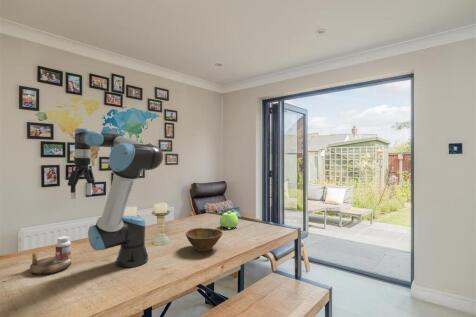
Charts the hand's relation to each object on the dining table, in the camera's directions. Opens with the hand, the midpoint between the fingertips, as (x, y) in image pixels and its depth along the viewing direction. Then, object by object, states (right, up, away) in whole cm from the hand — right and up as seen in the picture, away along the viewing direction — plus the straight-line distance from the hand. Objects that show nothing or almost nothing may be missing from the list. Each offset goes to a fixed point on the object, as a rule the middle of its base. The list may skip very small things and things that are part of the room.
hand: (81, 196), depth 144 cm
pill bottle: (-1, -29, -14) cm, 32 cm away
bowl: (+64, -33, +15) cm, 74 cm away
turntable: (-4, -31, -17) cm, 35 cm away
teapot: (+77, -33, +64) cm, 106 cm away
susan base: (-5, -32, -17) cm, 36 cm away
